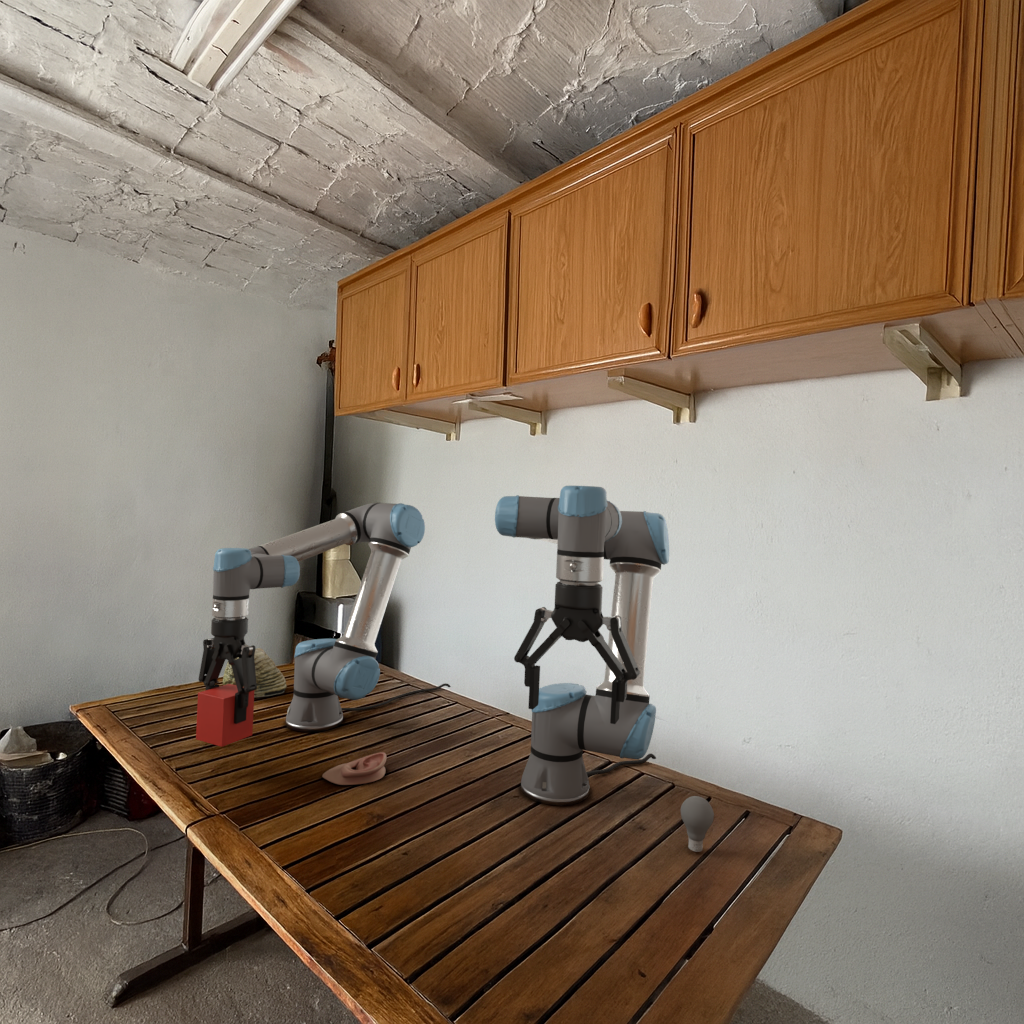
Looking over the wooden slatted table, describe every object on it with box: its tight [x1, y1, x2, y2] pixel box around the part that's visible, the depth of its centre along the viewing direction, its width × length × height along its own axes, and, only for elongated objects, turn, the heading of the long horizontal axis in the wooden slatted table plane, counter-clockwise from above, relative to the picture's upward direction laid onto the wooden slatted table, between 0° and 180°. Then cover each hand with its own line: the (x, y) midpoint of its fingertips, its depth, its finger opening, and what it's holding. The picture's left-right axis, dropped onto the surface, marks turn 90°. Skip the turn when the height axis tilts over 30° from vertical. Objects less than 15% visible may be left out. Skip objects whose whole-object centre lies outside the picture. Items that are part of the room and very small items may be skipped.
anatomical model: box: [321, 751, 387, 786], centre depth 144 cm, size 13×4×12 cm
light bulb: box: [680, 795, 715, 853], centre depth 119 cm, size 6×6×10 cm
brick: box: [195, 684, 255, 748], centre depth 142 cm, size 8×8×10 cm
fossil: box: [222, 647, 288, 698], centre depth 198 cm, size 9×18×15 cm, turn 132°
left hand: (225, 717), depth 142 cm, fingers closed on brick, 8 cm apart
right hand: (573, 714), depth 102 cm, fingers open, 13 cm apart
